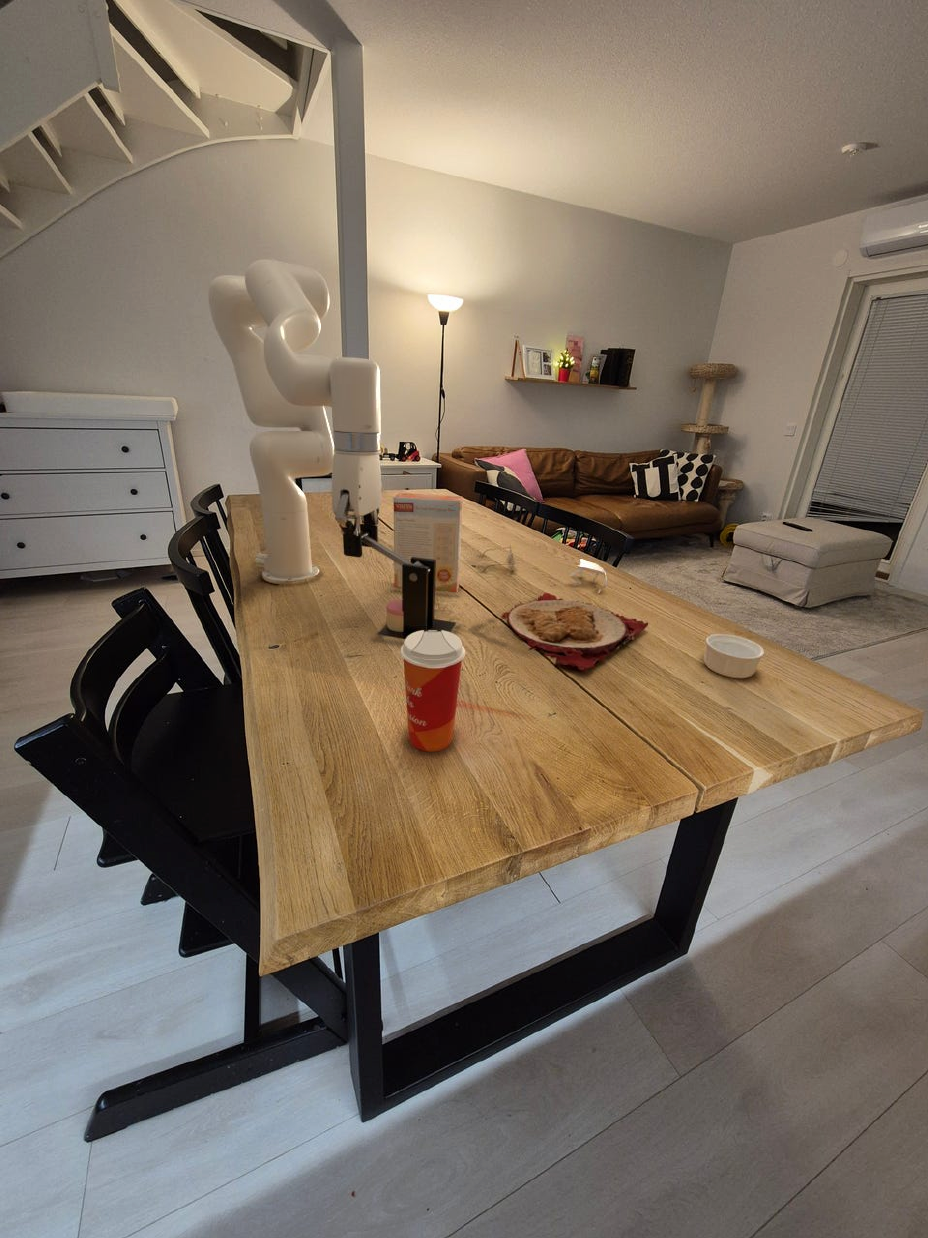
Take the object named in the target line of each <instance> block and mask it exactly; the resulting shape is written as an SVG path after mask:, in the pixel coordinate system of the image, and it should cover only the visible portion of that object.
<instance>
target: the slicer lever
mask: <svg viewBox="0 0 928 1238" xmlns="http://www.w3.org/2000/svg"><path fill="white" fill-rule="evenodd" d="M359 534H362V542H364V543H365V544H367V545H369V546H370V547H369V548H371V549H373V550H375V551H377V552H378V553H379V554H381V555H383V556H385V557H386V558H388V559H390V560H391V561H393V562H394V561H395V562H396V563H398V564H399V565H401V566H402V565H403V564H404V563H405V564H412V563H411V562H409V561H407V560H406V559H404V558H403V557H401V556H399V555H398V554H396V553H394V550H391V549H390V548H388V547H387V546H384V544H381V543H380V542H379V541H378V542H376V541H375V540H373V539H372V538H370V537H369V536H371V531H370V530H369V529H365V530H363V531H361V532H360V531H359ZM413 565H420V566H425V565H424V564H422V563H420V562H419V561H417V562H415V563H414V564H413ZM430 570H431V569H430V568H428V574H429V572H430Z"/></svg>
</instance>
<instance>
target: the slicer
mask: <svg viewBox="0 0 928 1238" xmlns="http://www.w3.org/2000/svg"><path fill="white" fill-rule="evenodd" d="M417 561H419V562H420V563H422V564H424V565H425V566H420V565H413V564H414V563H415V562H417ZM411 563H412V564H405V563H404V564H403V565H402V587H401V600H402V611H403V632H397V631H393V630H390V629H389V628H388V627H387V624H386V625H385V626H383V628H382V629H380V631H379V632H377V635H378V636H384V637H390V638H395V639H401V640H405V639H406V638H407V637H408V636H409V635H410V634H412V633H414V632H417V631H421V630H424V632H428V630H437V632H441V630H443V631H447V632H450V633H452V631H453V630H454V628H455V627H456V626H457V624H458V622H456V621H449V620H445V619H438V618H435V611H436V609H435V608H436V590H435V576H436V560H433V559H425V558H418V557H412V558H411ZM428 568H430V569H431V570H430V572H429V574H428Z"/></svg>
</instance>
